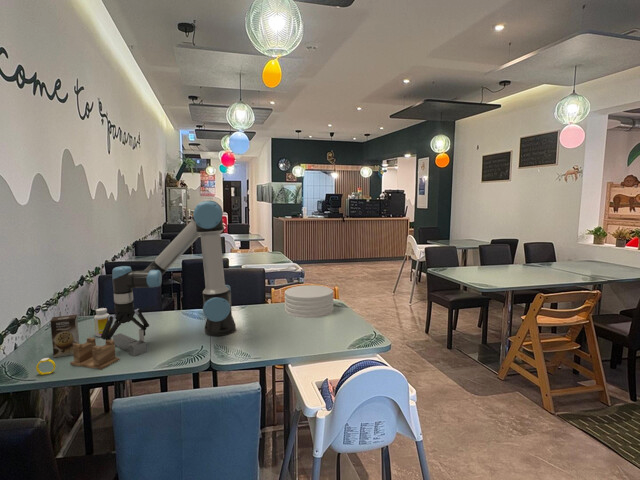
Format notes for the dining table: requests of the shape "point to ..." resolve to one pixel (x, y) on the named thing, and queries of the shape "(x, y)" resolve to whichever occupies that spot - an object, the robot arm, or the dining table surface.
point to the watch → (45, 361)
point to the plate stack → (309, 301)
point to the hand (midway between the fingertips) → (127, 348)
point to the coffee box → (64, 334)
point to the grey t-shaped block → (129, 344)
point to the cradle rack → (94, 354)
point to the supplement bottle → (100, 321)
